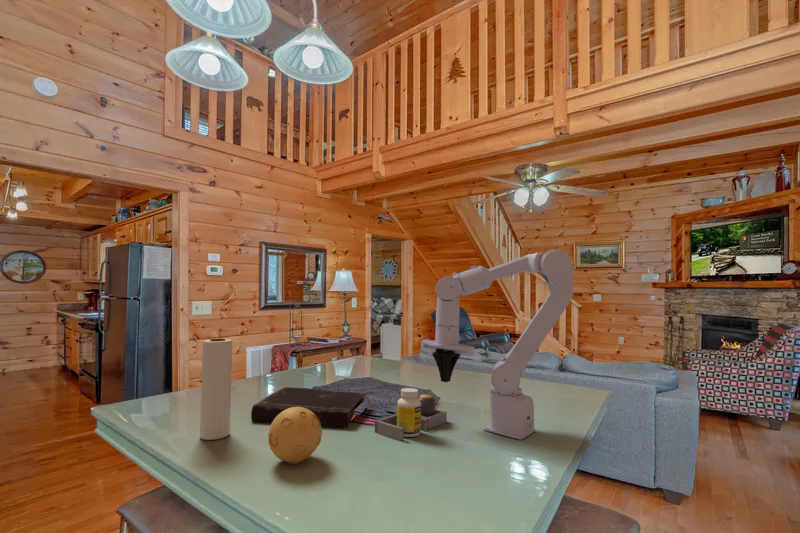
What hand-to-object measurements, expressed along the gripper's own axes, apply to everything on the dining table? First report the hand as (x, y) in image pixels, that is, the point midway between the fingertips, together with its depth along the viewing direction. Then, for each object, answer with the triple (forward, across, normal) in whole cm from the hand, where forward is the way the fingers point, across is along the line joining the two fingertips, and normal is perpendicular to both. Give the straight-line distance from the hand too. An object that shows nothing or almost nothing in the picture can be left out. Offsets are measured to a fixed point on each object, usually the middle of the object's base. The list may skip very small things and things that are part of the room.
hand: (445, 381), depth 98 cm
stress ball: (+12, -9, -36) cm, 39 cm away
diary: (+12, -30, -16) cm, 37 cm away
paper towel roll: (+12, -34, -40) cm, 54 cm away
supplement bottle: (+11, -2, -11) cm, 15 cm away
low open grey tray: (+11, -9, -7) cm, 16 cm away
